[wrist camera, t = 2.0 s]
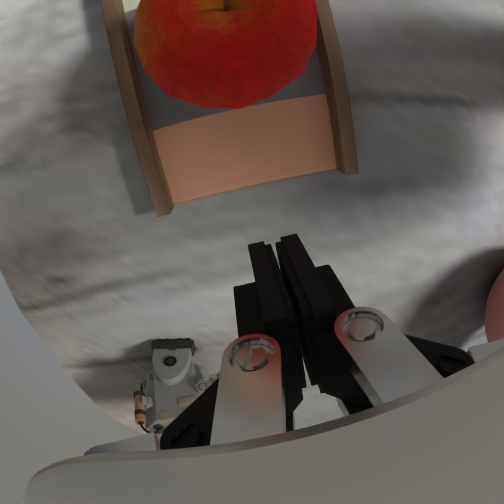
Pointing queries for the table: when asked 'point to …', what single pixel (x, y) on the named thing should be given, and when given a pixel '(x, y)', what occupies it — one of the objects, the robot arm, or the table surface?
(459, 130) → the table surface
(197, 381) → the figurine
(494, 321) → the balloon
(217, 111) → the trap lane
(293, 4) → the apple
